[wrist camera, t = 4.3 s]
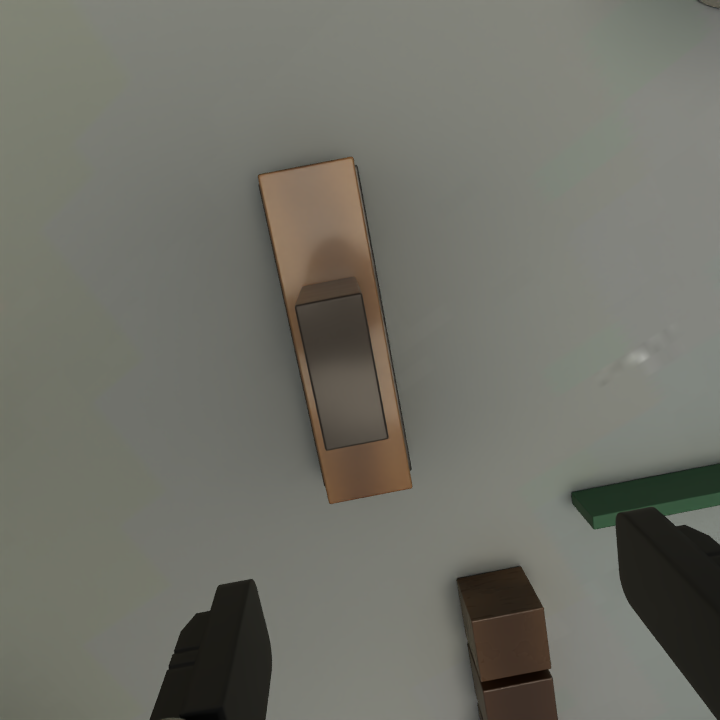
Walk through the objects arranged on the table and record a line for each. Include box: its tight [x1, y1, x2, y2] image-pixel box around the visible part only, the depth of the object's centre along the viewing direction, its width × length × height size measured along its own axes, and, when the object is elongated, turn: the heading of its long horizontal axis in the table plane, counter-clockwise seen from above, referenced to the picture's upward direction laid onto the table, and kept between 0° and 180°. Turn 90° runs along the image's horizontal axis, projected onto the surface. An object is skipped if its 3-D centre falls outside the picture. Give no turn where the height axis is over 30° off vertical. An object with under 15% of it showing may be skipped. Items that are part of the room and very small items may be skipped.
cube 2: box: [467, 643, 558, 720], centre depth 36 cm, size 4×4×4 cm
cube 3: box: [457, 566, 551, 682], centre depth 35 cm, size 4×4×4 cm
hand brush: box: [258, 157, 412, 504], centre depth 28 cm, size 5×17×10 cm, turn 11°
